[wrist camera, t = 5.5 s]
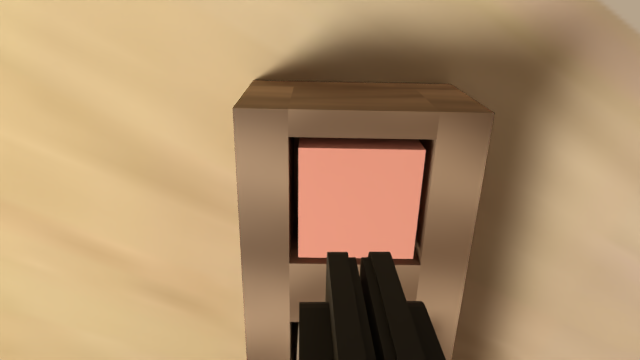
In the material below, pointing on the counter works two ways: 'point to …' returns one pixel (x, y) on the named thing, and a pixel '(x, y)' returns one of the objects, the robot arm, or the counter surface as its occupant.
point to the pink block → (358, 196)
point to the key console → (282, 195)
